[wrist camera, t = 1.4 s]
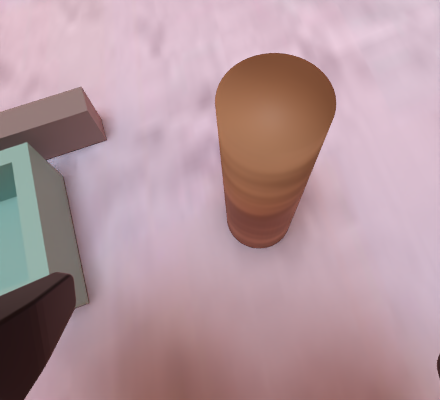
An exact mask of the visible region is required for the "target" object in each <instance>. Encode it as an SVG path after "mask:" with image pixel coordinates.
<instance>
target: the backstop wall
mask: <svg viewBox="0 0 440 400" xmlns="http://www.w3.org/2000/svg"><path fill="white" fill-rule="evenodd" d="M105 140H106V136H105V132H104V128H103V125H102V121H101V118H100V116H99V115H98V113H97V111H96V110H95V108H94V106H93V105H92V103H91V102H90V100H89V98H88V97H87V95H86V93H85V92H84V90H83V89H82V87H79V88H76V89H72V90H69V91H66V92H63V93H60V94H56V95H53V96H50V97H47V98H44V99H40V100H37V101H34V102H31V103H28V104H24V105H21V106H18V107H15V108H12V109H9V110H5V111H2V112H0V151H1V150H4V149H7V148H11V147H14V146H17V145H20V144H23V143H26V142H27V143H28V144H29V145H30V146H32V147H33V148H34V149H35V150H36V151H37V152H38V153H39V154H40V155H41V156H42V157H43V158H44V159H45V160H47V159H50V158H53V157H56V156H59V155H62V154H65V153H68V152H71V151H74V150H77V149H80V148H84V147H87V146H90V145H93V144H96V143H99V142H102V141H105Z"/></svg>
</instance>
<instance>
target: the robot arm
mask: <svg viewBox="0 0 440 400" xmlns="http://www.w3.org/2000/svg"><path fill="white" fill-rule="evenodd" d="M75 306H76V294H75V285H74V278H73V276H72V275H71V274H68V273H62V272H54V273H52V274H50V275H47V276H45V277H43V278H40V279H38V280H36V281H33V282H31V283H29V284H26V285H24V286H22V287H20V288H17V289H15V290H13V291H10V292H8V293H6V294H3V295H1V296H0V400H24V399H25V397H26V396H27V394H28V393H29V391H30V390H31V388H32V386H33V385H34V383H35V382H36V380H37V379H38V377H39V375H40V374H41V372H42V371H43V369H44V367H45V366H46V364H47V362H48V360H49V358H50V357H51V355H52V353H53V351H54V349H55V347H56V345H57V343H58V341H59V339H60V337H61V335H62V333H63V331H64V329H65V327H66V325H67V323H68V321H69V319H70V317H71V315H72V313H73V311H74V309H75ZM437 370H438V374H439V378H440V355H439V357H438V360H437Z"/></svg>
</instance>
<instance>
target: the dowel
mask: <svg viewBox="0 0 440 400" xmlns="http://www.w3.org/2000/svg"><path fill="white" fill-rule="evenodd" d="M215 107H216V117H217V126H218V136H219V146H220V155H221V165H222V174H223V184H224V194H225V203H226V213H227V222H228V227H229V229H230V231H231V233H232V235H233V236H234V237H235V238H236V239H237V240H238V241H239V242H241V243H242V244H244V245H246V246H249V247H252V248H266V247H270V246H272V245H274V244H276V243H277V242H279V241H280V240H281V239H282V238H283V237H284V236H285V234H286V232H287V230H288V228H289V225H290V223H291V221H292V218H293V216H294V213H295V211H296V208H297V206H298V203H299V201H300V199H301V196H302V194H303V191H304V189H305V186H306V184H307V181H308V179H309V177H310V174H311V172H312V169H313V167H314V164H315V162H316V159H317V157H318V155H319V152H320V150H321V147H322V145H323V142H324V140H325V137H326V135H327V133H328V130H329V128H330V125H331V123H332V120H333V118H334V115H335V110H336V96H335V92H334V89H333V87H332V85H331V83H330V81H329V79H328V78H327V77H326V75H325V74H324V73H323V72H322V71H321V70H320V69H319V68H317V67H316V66H315V65H313V64H312V63H310V62H308V61H306V60H304V59H302V58H300V57H296V56H293V55H288V54H281V53H268V54H261V55H256V56H253V57H250V58H247V59H245V60H243V61H241V62H240V63H238V64H236V65H235V66H234V67H232V68H231V69H230V70H229V71H228V72H227V73H226V74H225V76H224V77H223V78H222V80H221V82H220V83H219V86H218V88H217V91H216V96H215Z"/></svg>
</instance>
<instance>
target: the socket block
mask: <svg viewBox="0 0 440 400" xmlns="http://www.w3.org/2000/svg"><path fill="white" fill-rule="evenodd" d="M54 272H62V273H68V274H71V275H72V276H73V278H74V285H75V294H76V306H75V308H77V307H79V306H82V305H85V304H88V303H89V301H88V297H87V292H86V287H85V282H84V277H83V272H82V267H81V263H80V258H79V253H78V248H77V243H76V238H75V233H74V228H73V224H72V219H71V214H70V209H69V204H68V199H67V194H66V190H65V185H64V180H63V176H62V175H61V174H60V173H59V172H58V171H57V170H56V169H55V168H54V167H53V166H51V165H50V164H49V163H48V162H47V161H46V160H45V159H44V158H43V157H42V156H41V155H40V154H39V153H38V152H37V151H36V150H35V149H34V148H33V147H32V146H30V145H29V144H28V143H27V142H26V143H23V144H20V145H17V146H14V147H11V148H7V149H4V150H1V151H0V296H1V295H3V294H6V293H8V292H10V291H13V290H15V289H17V288H20V287H22V286H24V285H26V284H29V283H31V282H33V281H36V280H38V279H40V278H43V277H45V276H47V275H50V274H52V273H54Z"/></svg>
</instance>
